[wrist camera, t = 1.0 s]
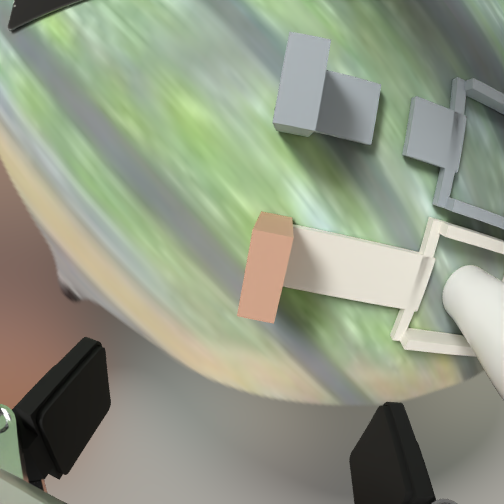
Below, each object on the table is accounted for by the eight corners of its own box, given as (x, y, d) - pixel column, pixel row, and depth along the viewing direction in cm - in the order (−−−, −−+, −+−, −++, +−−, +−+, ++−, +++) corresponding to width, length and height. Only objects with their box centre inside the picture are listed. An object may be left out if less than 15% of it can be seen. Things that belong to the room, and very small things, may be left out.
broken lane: (294, 31, 21) (296, -3, 15) (543, 128, 20) (584, 129, 14) (270, 164, 24) (264, 166, 18) (524, 236, 23) (563, 255, 17)
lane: (267, 178, 25) (260, 185, 19) (521, 246, 24) (559, 267, 17) (243, 308, 28) (231, 348, 22) (482, 345, 27) (509, 379, 21)
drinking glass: (499, 280, 25) (591, 357, 11) (458, 331, 27) (530, 430, 13) (464, 241, 24) (573, 313, 10) (420, 298, 26) (499, 406, 12)
